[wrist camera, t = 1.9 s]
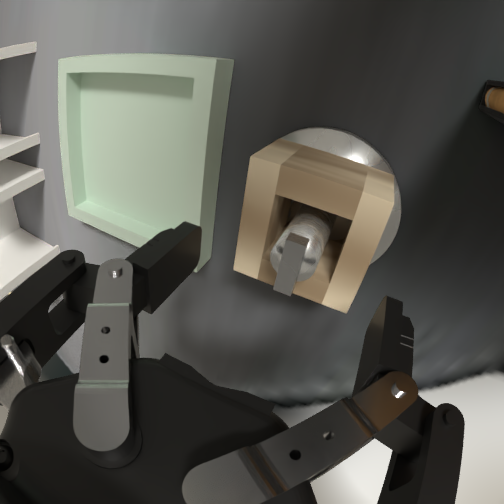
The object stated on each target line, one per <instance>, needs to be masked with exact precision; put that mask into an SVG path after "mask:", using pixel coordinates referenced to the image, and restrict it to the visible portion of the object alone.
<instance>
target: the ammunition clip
mask: <svg viewBox="0 0 504 504" xmlns="http://www.w3.org/2000/svg"><path fill="white" fill-rule="evenodd" d="M479 109H480V111H482V112H484V113H485V114H487V115H489V116H491V117H492V118H494V119H496V120H497V121H499V122H501V123H502V124H504V82H501V81H493V80H487V83H486V86H485V90H484V93H483V96H482V99H481V102H480V106H479Z"/></svg>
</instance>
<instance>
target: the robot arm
mask: <svg viewBox="0 0 504 504" xmlns="http://www.w3.org/2000/svg"><path fill="white" fill-rule="evenodd" d="M201 238H202V228H201V227H200V226H197V225H194V224H192V223H189V222H186V221H184V222H182V223H181V224H180V225H179V226H177V227H176V228H175V229H172V228H170V229H167V230H164V231H161V232H159V233H158V234H157V235H156V236H154V237H153V238H152V239H150V240H149V241H148V242H146V244H144V245H143V246H141V247H140V248H139V249H137V250H136V251H135V252H134V253H132V254H131V255H130V256H129V257H127V258H126V259H125V260H124V259H111V260H108V261H106V262H104V263H103V264H101V266H100V265H94V264H89V263H85V258H84V255H83V253H82V252H80V251H78V250H67V251H64V252H61V253H60V254H58V255H57V256H56V257H54V258H53V259H52V260H50V261H49V262H48V263H47V264H45V265H44V266H43V267H42V268H40V269H39V270H38V271H37V272H36V273H34V274H33V275H32V276H31V277H30V278H28V279H27V280H26V281H25V282H24V283H22V284H21V285H20V286H19V287H18V288H16V289H15V290H14V291H13V292H12V293H11V294H10V295H8V296H7V297H6V298H5V299H4V300H3V301H2V302H1V303H0V405H2V406H4V407H5V408H6V409H8V411H9V413H8V417H7V420H6V424H5V426H4V429H3V431H2V433H1V435H0V504H317V501H316V498H315V495H314V493H313V490H312V487H311V484H310V483H311V482H312V481H314V480H315V479H317V478H319V477H320V476H322V475H323V474H325V473H327V472H328V471H329V470H331V469H332V468H334V467H335V466H337V465H338V464H340V463H341V462H342V461H344V460H345V459H347V458H348V457H350V456H351V455H353V454H354V453H355V452H357V451H358V450H360V449H361V448H362V447H364V446H365V445H366V444H368V443H369V442H370V441H371V440H373V439H374V438H375V439H377V440H378V441H380V442H381V443H383V444H384V445H386V446H387V447H389V448H390V449H392V450H393V451H392V455H391V459H390V463H389V466H388V470H387V474H386V477H385V480H384V484H383V487H382V490H381V493H380V496H379V500H378V503H377V504H455V499H456V493H457V488H458V481H459V475H460V467H461V459H462V450H463V438H464V425H465V424H464V418H463V415H462V414H461V412H460V410H459V409H458V408H457V407H455V406H454V405H452V404H449V403H444V404H440V405H439V406H438V407H437V408H435V407H434V406H432V405H430V404H429V403H428V402H426V401H425V400H423V399H422V398H421V397H420V396H419V395H418V387H417V385H416V383H415V381H414V380H413V379H412V366H413V343H414V340H413V339H414V328H413V325H412V323H411V320H410V318H408V317H405V316H403V315H402V310H403V303H402V301H399V300H396V299H394V298H391V297H388V296H385V297H384V298H383V300H382V302H381V304H380V305H379V307H378V309H377V311H376V313H375V315H374V316H373V318H372V320H371V322H370V324H369V326H368V328H367V331H366V334H365V339H364V344H363V349H362V354H361V359H360V363H359V368H358V372H357V377H356V381H355V385H354V390H353V394H352V398H350V399H348V398H347V397H346V398H343V399H341V400H339V401H338V402H336V403H334V404H333V405H331V406H329V407H327V408H326V409H324V410H322V411H321V412H319V413H317V414H315V415H313V416H312V417H310V418H308V419H306V420H304V421H302V422H301V423H299V424H297V425H295V426H293V427H291V428H289V427H288V426H287V425H286V423H285V422H284V421H283V420H282V419H281V418H280V417H278V416H277V415H276V414H275V413H273V412H272V410H273V408H274V406H275V404H274V403H272V402H269V401H267V400H264V399H262V398H259V397H257V396H255V395H252V394H250V393H248V392H244V391H238V390H234V389H229V388H224V387H219V386H216V385H213V384H212V383H211V382H209V381H208V380H207V379H206V378H204V377H203V376H202V375H201V374H200V373H198V372H197V371H196V370H195V369H194V368H192V367H191V366H190V365H188V364H186V363H184V362H182V361H180V360H178V359H176V358H174V357H172V356H170V355H168V354H166V353H165V354H164V356H163V357H162V358H161V359H160V360H158V359H153V358H140V354H139V317H138V314H139V313H140V312H141V311H142V310H144V311H146V312H148V313H150V314H152V313H153V312H154V311H155V310H156V309H157V308H158V307H159V306H160V305H161V304H162V303H163V302H164V301H165V300H166V299H167V298H168V297H169V296H170V294H171V293H172V292H173V291H174V290H175V289H176V288H177V287H178V286H179V285H180V284H181V283H182V282H183V281H184V280H185V279H186V278H187V277H188V276H189V275H190V274H191V273H192V272H193V271H194V269H195V268H196V267H197V265H198V262H199V259H200V252H201ZM61 294H63V298H64V299H63V300H62V301H61V302H60V303H59V304H58V305H57V306H55V307H54V308H53V309H52V310H51V311H50V312H49V313H48V310H49V307H50V305H51V304H52V303H53V302H54V301H55V300H56V299H57V298H58V297H59V296H60V295H61ZM84 322H85V325H84V333H83V341H82V349H81V359H80V370H79V373H76V374H72V375H68V376H64V377H60V378H55V379H51V380H47V381H42V382H39V379H40V376H41V369H42V367H43V366H44V365H45V364H46V363H47V362H48V361H49V360H50V358H51V357H52V356H53V355H54V354H55V353H56V352H57V351H58V350H59V349H60V347H61V346H62V345H63V344H64V343H65V342H66V341H67V340H68V339H69V338H70V337H71V336H72V335H73V334H74V332H75V331H76V330H77V329H78V328H79V327H80V326H81V325H82V324H83V323H84Z"/></svg>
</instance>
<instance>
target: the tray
mask: <svg viewBox="0 0 504 504" xmlns="http://www.w3.org/2000/svg"><path fill="white" fill-rule="evenodd" d="M233 66H234V60H233V59H225V58H215V57H205V56H193V55H177V54H144V53H132V54H100V55H84V56H75V57H68V58H62V59H59V63H58V113H59V134H60V148H61V159H62V169H63V178H64V186H65V193H66V200H67V207H68V213H69V215H70V216H72V217H74V218H76V219H78V220H80V221H82V222H84V223H87V224H89V225H91V226H93V227H95V228H97V229H99V230H102V231H104V232H106V233H108V234H110V235H112V236H115V237H117V238H119V239H121V240H123V241H126V242H128V243H130V244H132V245H135V246H137V247H139V248H140V247H141V246H143V245H144V244H146V242H148V241H149V240H150V239H152V238H153V237H154V236H156V235H157V234H158V233H159V232H161V231H164V230H167V229H170V228H172V229H175V228H176V227H177V226H179V225H180V224H181V223H182V222H184V221H186V222H189V223H192V224H194V225H197V226H200V227H201V228H202V238H201V252H200V259H199V262H198V265H197V267H196V268H195V269H194V272H196V273H197V272H198V271H199V270H200V269H201V268H202V267H203V266H204V264H205V263H206V262H207V261H208V260H209V259H210V258H211V253H212V242H213V231H214V221H215V211H216V201H217V192H218V183H219V174H220V165H221V156H222V148H223V140H224V132H225V124H226V116H227V109H228V101H229V94H230V87H231V80H232V73H233Z"/></svg>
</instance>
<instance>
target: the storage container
mask: <svg viewBox="0 0 504 504" xmlns="http://www.w3.org/2000/svg"><path fill="white" fill-rule="evenodd" d="M36 46H37V41H36V42H30V43H24V44H18V45H13V46H8V47H4V48H0V60H1V59H5V58H9V57H14V56H18V55H23V54H28V53H33V52H36ZM39 143H40V137H39V133H36V134H33V135H31V136H28V137H20V136H13V135H6V134H2V131H1V122H0V300H1V299H2V298H3V297H4V296H6V295H7V294H8V293H9V292H11V291H12V290H13V289H14V288H16V287H17V286H18V285H19V284H21V283H22V282H23V281H24V280H26V279H27V278H28V277H29V276H31V275H32V274H33V273H35V272H36V271H37V270H39V269H40V268H41V267H43V266H44V265H45V264H47V263H48V262H49V261H50V260H52V259H53V258H54V257H56V256H57V255H58V254H60V249H59V246H58V245H56V246H54V247H53V246H51V245H49V244H47V243H46V242H44V241H42V240H40V239H39V238H37V237H35V236H34V235H32V234H30V233H29V232H27V231H25V230H24V229H22V228H20V225H19V221H18V217H17V213H16V209H15V205H14V201H13V196H15V195H16V194H18V193H20V192H22V191H24V190H26V189H27V188H29V187H31V186H33V185H35V184H37V183H39V182H41V181H43V180H45V176H44V170H42V169H39V168H36V167H32V166H29V165H26V164H22V163H19V162H16V161H12V160H9V159H5V158H7V157H10V156H12V155H14V154H16V153H18V152H21V151H23V150H25V149H28V148H30V147H32V146H35V145H37V144H39Z"/></svg>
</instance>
